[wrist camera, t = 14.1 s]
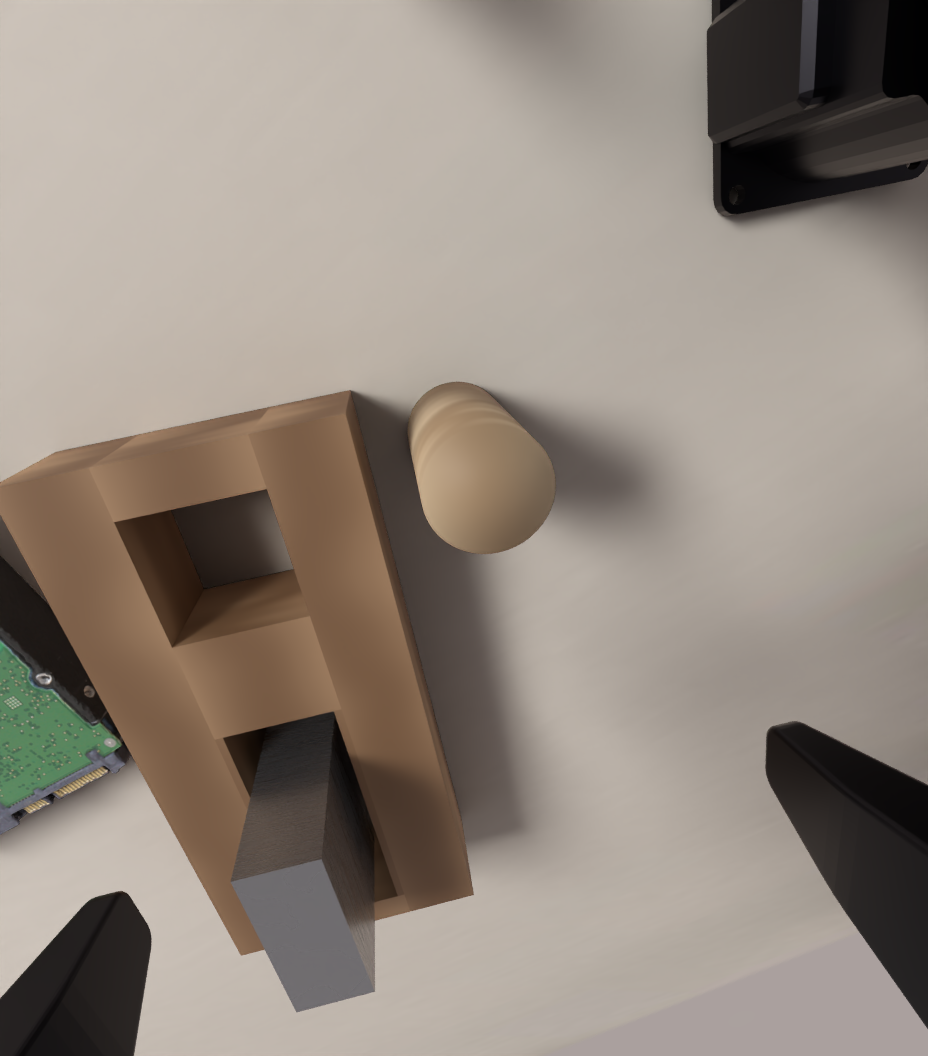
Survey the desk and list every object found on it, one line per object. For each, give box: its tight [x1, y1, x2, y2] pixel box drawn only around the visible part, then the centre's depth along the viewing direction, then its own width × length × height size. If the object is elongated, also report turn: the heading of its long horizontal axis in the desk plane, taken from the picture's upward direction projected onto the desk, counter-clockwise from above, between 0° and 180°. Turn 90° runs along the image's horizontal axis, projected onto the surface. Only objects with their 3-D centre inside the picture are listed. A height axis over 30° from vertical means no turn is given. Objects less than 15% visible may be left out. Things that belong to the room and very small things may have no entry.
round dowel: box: [407, 382, 556, 554], centre depth 17 cm, size 3×3×6 cm
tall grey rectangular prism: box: [231, 711, 375, 1012], centre depth 20 cm, size 2×6×8 cm, turn 10°
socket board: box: [0, 390, 474, 956], centre depth 20 cm, size 9×19×4 cm, turn 11°
